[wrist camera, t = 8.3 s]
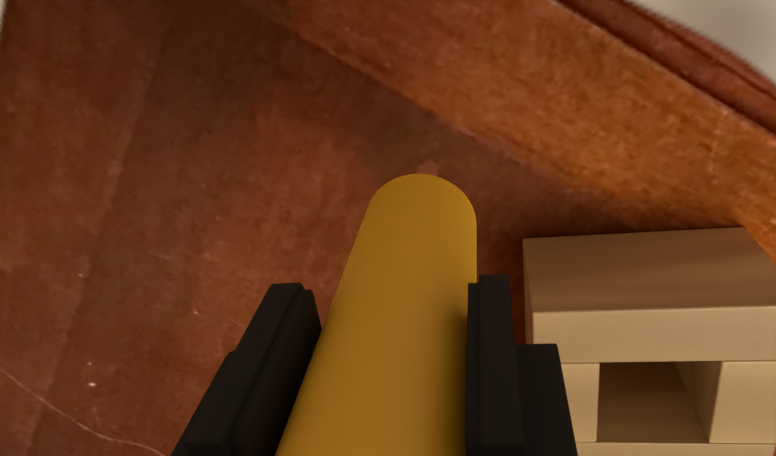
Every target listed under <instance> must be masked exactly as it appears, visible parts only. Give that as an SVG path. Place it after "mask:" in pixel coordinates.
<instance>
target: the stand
mask: <svg viewBox="0 0 776 456" xmlns="http://www.w3.org/2000/svg"><path fill="white" fill-rule="evenodd" d="M522 244H523V272H524V301H525V330H526V344H547V343H556V344H557V347H558V351H559V356H560V361H561V367H562V372H563V378H564V383H565V388H566V394H567V399H568V404H569V410H570V415H571V421H572V426H573V431H574V437H575V442H576V448H577V453H578V456H773V454H774V450H775V446H776V444H775V443H776V264H775V263H774V262H773V261H772V260H771V258H770V257H769V256H768V255H767V254H766V252H765V251H764V250H763V249H762V248H761V246H760V245H759V244H758V243H757V241H756V240H755V239H754V238H753V237H752V235H751V234H750V233H749V232H748V231H747V229H746V228H745V227H734V228H715V229H695V230H676V231H657V232H638V233H618V234H599V235H580V236H560V237H541V238H524V239H523V240H522Z"/></svg>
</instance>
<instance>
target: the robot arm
mask: <svg viewBox="0 0 776 456" xmlns="http://www.w3.org/2000/svg"><path fill="white" fill-rule="evenodd" d="M321 331H322V328H321V324H320V320H319V315H318V311H317V307H316V303H315V298H314V295H313V292H312V290H305V289H304V287H303V285H302V284H301V283H281V284H272V285H271V286H270V287H269V289H268V291H267V293H266V295H265V296H264V298H263V300H262V302H261V304H260V306H259V307H258V309H257V311H256V313H255V315H254V317H253V318H252V320H251V322H250V324H249V326H248V327H247V329H246V331H245V333H244V335H243V337H242V338H241V340H240V342H239V344H238V346H237V348H236V349H235V350H234V351H232V352H230V353H229V354H228V355H227V356H226V358H225V359H224V361H223V363H222V364H221V366H220V368H219V370H218V372H217V373H216V375H215V377H214V379H213V381H212V382H211V384H210V386H209V388H208V389H207V391H206V393H205V395H204V397H203V398H202V400H201V402H200V404H199V406H198V407H197V409H196V411H195V413H194V414H193V416H192V418H191V420H190V422H189V423H188V425H187V427H186V429H185V431H184V432H183V434H182V436H181V438H180V440H179V441H178V443H177V445H176V447H175V448H174V450H173V452H172V454H171V456H275V454H276V451H277V448H278V446H279V443H280V440H281V438H282V435H283V432H284V430H285V427H286V424H287V422H288V419H289V416H290V414H291V411H292V408H293V406H294V403H295V400H296V398H297V395H298V392H299V390H300V387H301V384H302V382H303V379H304V376H305V374H306V371H307V368H308V366H309V363H310V360H311V358H312V355H313V352H314V350H315V347H316V344H317V342H318V339H319V336H320V334H321ZM465 452H466V456H578V453H577V448H576V442H575V437H574V431H573V426H572V421H571V415H570V410H569V404H568V399H567V394H566V388H565V383H564V378H563V372H562V367H561V361H560V356H559V351H558V347H557V344H556V343H547V344H515V341H514V330H513V318H512V307H511V295H510V284H509V274H488V275H479V283H468V309H467V353H466V397H465Z"/></svg>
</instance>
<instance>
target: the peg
mask: <svg viewBox="0 0 776 456" xmlns="http://www.w3.org/2000/svg"><path fill="white" fill-rule="evenodd" d="M468 283H476V216H475V212H474V209H473V207H472V205H471V203H470V201H469V200H468V198H467V197H466V196H465V194H464V193H463V192H462V191H461V190H460V189H459V188H457V187H456V186H455V185H453V184H452V183H450V182H448V181H446V180H444V179H442V178H439V177H437V176H432V175H427V174H411V175H405V176H401V177H398V178H396V179H393V180H391V181H390V182H388V183H386V184H385V185H384V186H382V187H381V188H380V189H379V190H378V191H377V192H376V193H375V195H374V196H373V198H372V199H371V201H370V203H369V206H368V208H367V211H366V214H365V216H364V219H363V222H362V224H361V227H360V230H359V232H358V235H357V238H356V240H355V243H354V246H353V248H352V251H351V254H350V256H349V259H348V262H347V264H346V267H345V270H344V272H343V275H342V278H341V280H340V283H339V286H338V288H337V291H336V294H335V296H334V299H333V302H332V304H331V307H330V310H329V312H328V315H327V318H326V320H325V323H324V326H323V328H322V331H321V334H320V336H319V339H318V342H317V344H316V347H315V350H314V352H313V355H312V358H311V360H310V363H309V366H308V368H307V371H306V374H305V376H304V379H303V382H302V384H301V387H300V390H299V392H298V395H297V398H296V400H295V403H294V406H293V408H292V411H291V414H290V416H289V419H288V422H287V424H286V427H285V430H284V432H283V435H282V438H281V440H280V443H279V446H278V448H277V451H276V454H275V456H466V452H465V397H466V353H467V309H468Z"/></svg>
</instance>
